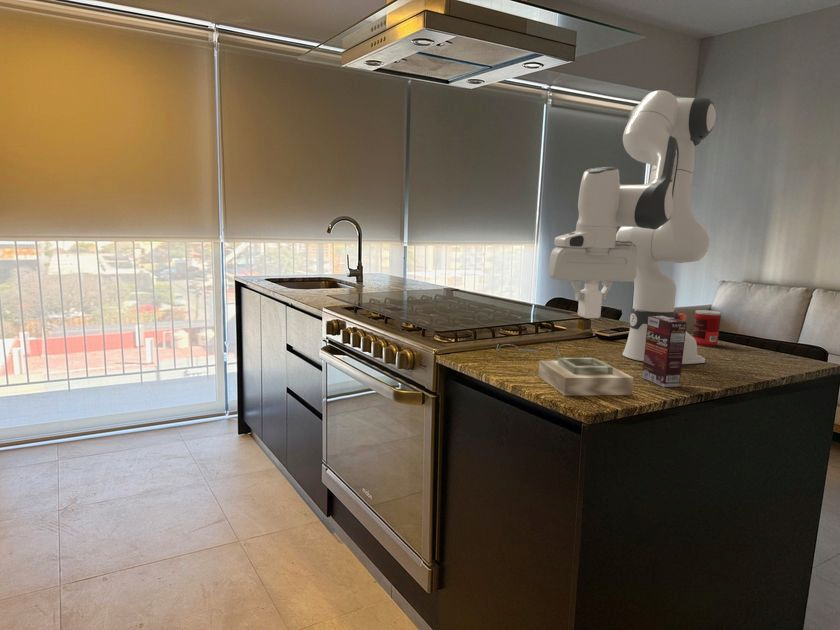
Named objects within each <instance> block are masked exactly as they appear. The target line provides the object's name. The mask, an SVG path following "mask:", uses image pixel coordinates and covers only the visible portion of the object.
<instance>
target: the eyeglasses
mask: <svg viewBox="0 0 840 630" xmlns="http://www.w3.org/2000/svg"><path fill="white" fill-rule="evenodd" d="M504 346H511V344H509V343H508V344H507V343H506V344H502V345H500V346H499V345H497V347H496V349H495V352H497V353H498V356H500V355H501V354H500V349H501V347H504ZM512 346H514V347H515V348H516V349H517V351H518V352H517V355H516V356H514V358H516V357H518V356H519V354H520V352H528V353H536V354H538V352H539V350H540V349H545V348H547V349H552V350H554V351H555V352H556V358H555V359H554V361H557V360H558V358H559V357H561V354H560V350H559V347H558V344H555V348H556V349H555V348H553V347H551V346H550V347H547V346H543V347H540V348H539V350H533V349H519V348H518V346H517V345H514V344H512ZM498 347H499V348H498ZM558 356H559V357H558ZM536 357H537V358H538V359H539V360H541V358H540V357H539V355H536Z"/></svg>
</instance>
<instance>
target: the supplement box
mask: <svg viewBox="0 0 840 630" xmlns="http://www.w3.org/2000/svg"><path fill="white" fill-rule="evenodd" d="M687 323H688V322H687V321H686V320H685V321H682V320H677V319H673V318H669V317H665V316H648V323H647V333H646V343H645V353H644V361H643V365H642V373H641V375H642V376H641V378H642V379H644V380H647V381H650V382H651V383H654V384H656V385H658V386H661V388H675V387H681V386H680V384H681V376H682V366H683V364H682V359H683V351H684V342H685V334H686V332H687Z"/></svg>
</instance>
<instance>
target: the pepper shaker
mask: <svg viewBox="0 0 840 630" xmlns="http://www.w3.org/2000/svg"><path fill="white" fill-rule="evenodd" d="M583 282H584V283H583V284H584V288H583V289H580V291H581V292H582V293H585V294H584V300H578V308H577V315H578V316H579V317H581V318H585V319H599V318H601V316H602V315H601V311H602V303H603V301H602V292H601V290H600V289H599V285H600V281H583Z"/></svg>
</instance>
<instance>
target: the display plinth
mask: <svg viewBox="0 0 840 630" xmlns="http://www.w3.org/2000/svg"><path fill="white" fill-rule="evenodd" d="M538 363H539V364H538V365H539V366H538V377H539V378H540V379H541V380H543V382H545V383H547V384H548V385H549V384H550V385H549V386H551V388H553V387H554V389H555V390H556V391H557V390H558V392H559V393H560V394H561V393H562V394H561V395H563V396H565V397H566V396H632V395H633V387H634V377H633V376H631V375H630V374H627V373H625V372H623V371H621V370H620V369H617V368H616V367H613V366H612V365H610V364H608V363H606V362H604V361H602V360H599V359H597V358H596V357H557V360H539V361H538Z"/></svg>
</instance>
